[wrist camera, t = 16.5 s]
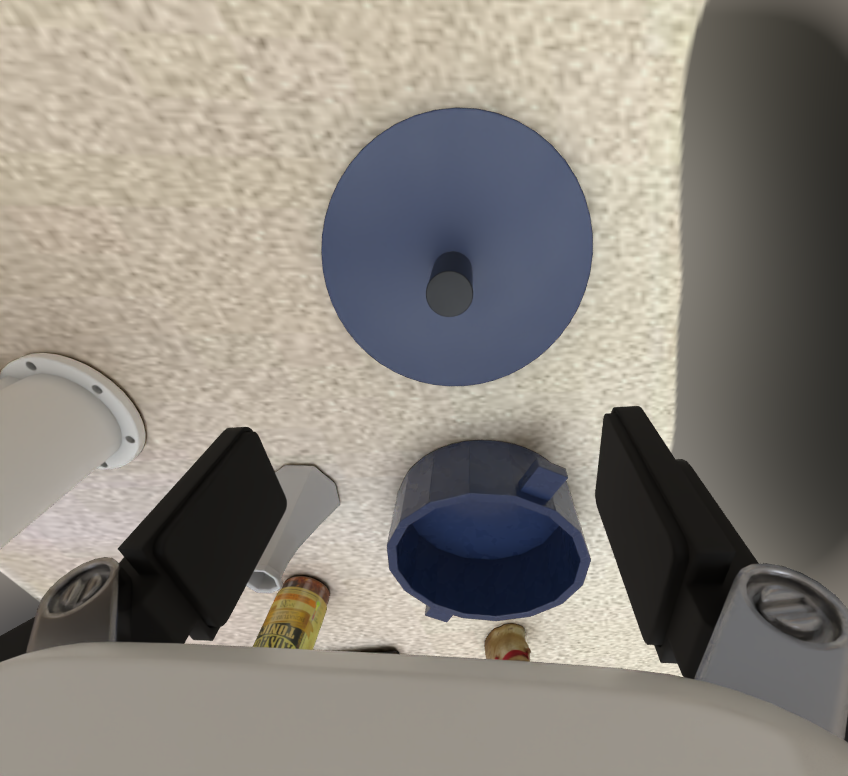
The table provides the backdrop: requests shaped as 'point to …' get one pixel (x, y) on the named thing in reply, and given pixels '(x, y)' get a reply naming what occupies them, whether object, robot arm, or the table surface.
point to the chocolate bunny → (507, 644)
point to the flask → (294, 522)
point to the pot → (486, 533)
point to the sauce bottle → (295, 615)
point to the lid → (457, 246)
